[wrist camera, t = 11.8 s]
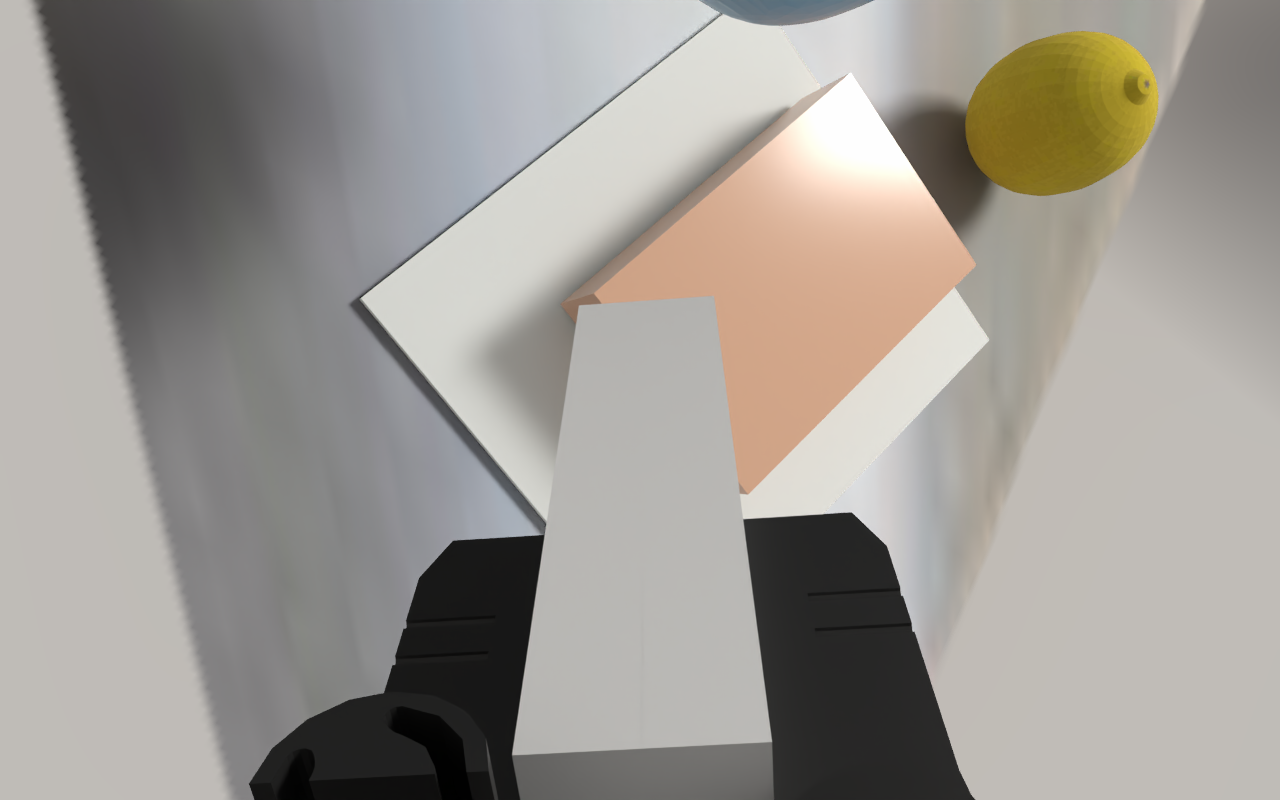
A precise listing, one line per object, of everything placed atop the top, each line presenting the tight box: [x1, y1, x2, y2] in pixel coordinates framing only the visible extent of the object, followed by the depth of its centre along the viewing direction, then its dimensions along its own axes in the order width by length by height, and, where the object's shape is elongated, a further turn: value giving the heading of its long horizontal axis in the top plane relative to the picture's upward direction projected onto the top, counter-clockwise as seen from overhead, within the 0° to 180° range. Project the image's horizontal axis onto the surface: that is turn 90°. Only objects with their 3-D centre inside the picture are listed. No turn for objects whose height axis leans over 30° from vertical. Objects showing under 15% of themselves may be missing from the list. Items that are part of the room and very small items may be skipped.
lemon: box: [965, 31, 1158, 196], centre depth 39 cm, size 6×6×8 cm
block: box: [561, 73, 976, 494], centre depth 37 cm, size 8×3×12 cm
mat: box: [359, 14, 989, 523], centre depth 38 cm, size 16×18×1 cm
